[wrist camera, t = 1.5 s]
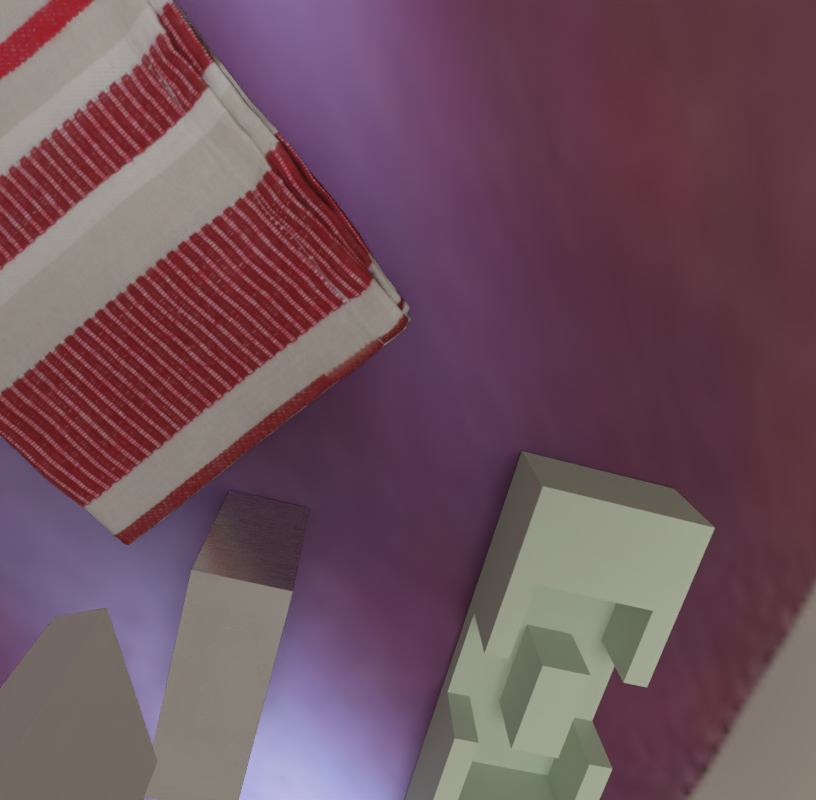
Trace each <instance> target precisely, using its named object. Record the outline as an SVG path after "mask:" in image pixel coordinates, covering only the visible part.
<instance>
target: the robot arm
mask: <svg viewBox="0 0 816 800" xmlns="http://www.w3.org/2000/svg"><path fill="white" fill-rule="evenodd" d="M157 762H158V761H157V758H156V755H155V752H154V749H153V746H152V743H151V740H150V737H149V734H148V731H147V728H146V725H145V722H144V719H143V716H142V713H141V710H140V707H139V704H138V701H137V698H136V695H135V692H134V689H133V686H132V683H131V680H130V677H129V674H128V671H127V667H126V664H125V661H124V658H123V655H122V652H121V649H120V646H119V643H118V640H117V637H116V634H115V631H114V628H113V625H112V622H111V619H110V616H109V613H108V610H107V608H103V609H97V610H92V611H86V612H81V613H75V614H69V615H64V616H58V617H54V618H53V620H52V621H51V622H50V624H49V625H48V626H47V628H46V629H45V630H44V632H43V633H42V634H41V636H40V637H39V638H38V639H37V641H36V642H35V643H34V645H33V646H32V647H31V649H30V650H29V651H28V653H27V654H26V655H25V656H24V658H23V659H22V660H21V662H20V663H19V664H18V666H17V667H16V668H15V670H14V671H13V672H12V674H11V675H10V676H9V677H8V679H7V680H6V681H5V683H4V684H3V685H2V687H1V688H0V800H143V798H144V796H145V793H146V790H147V788H148V785H149V783H150V780H151V777H152V775H153V772H154V770H155V767H156V764H157Z"/></svg>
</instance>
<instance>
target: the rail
mask: <svg viewBox="0 0 816 800" xmlns="http://www.w3.org/2000/svg"><path fill="white" fill-rule="evenodd" d="M714 529H715V528H714V527H713V526H712V525H711V524H710V523H709V522H708V521H707V520H706V519H705V518H704V517H703V516H702V515H701V514H700V513H699V512H698V511H697V510H696V509H695V508H694V507H692V506H691V505H690V504H689V503H688V502H687V501H686V500H685V499H684V498H683V497H682V496H681V495H680V494H679V493H678V492H677V491H676V490H675V489H673V488H669V487H665V486H661V485H657V484H653V483H649V482H645V481H641V480H637V479H633V478H629V477H625V476H621V475H617V474H613V473H609V472H605V471H601V470H596V469H592V468H588V467H584V466H580V465H576V464H572V463H568V462H564V461H560V460H556V459H552V458H548V457H544V456H540V455H536V454H532V453H528V452H524V451H522V452H521V455H520V458H519V461H518V464H517V467H516V470H515V473H514V476H513V478H512V481H511V484H510V487H509V490H508V493H507V496H506V499H505V502H504V505H503V508H502V511H501V514H500V517H499V520H498V523H497V526H496V529H495V532H494V535H493V538H492V541H491V544H490V547H489V550H488V553H487V556H486V559H485V562H484V565H483V568H482V571H481V574H480V577H479V580H478V583H477V586H476V588H475V591H474V594H473V597H472V600H471V603H470V606H469V609H468V612H467V615H466V618H465V621H464V624H463V627H462V630H461V633H460V636H459V639H458V642H457V645H456V648H455V651H454V654H453V657H452V660H451V663H450V666H449V669H448V672H447V675H446V678H445V681H444V684H443V687H442V690H441V693H440V695H439V698H438V701H437V704H436V707H435V710H434V713H433V716H432V719H431V722H430V725H429V728H428V731H427V734H426V737H425V740H424V743H423V746H422V749H421V752H420V755H419V758H418V761H417V764H416V767H415V770H414V773H413V776H412V779H411V782H410V785H409V788H408V791H407V794H406V797H405V800H599V799H600V797H601V794H602V792H603V790H604V787H605V785H606V783H607V780H608V778H609V776H610V773H611V771H612V767H611V764H610V762H609V760H608V757H607V755H606V752H605V750H604V748H603V745H602V743H601V741H600V738H599V736H598V734H597V731H596V729H595V727H594V724H593V722H592V720H593V718H594V715H595V713H596V710H597V708H598V705H599V703H600V701H601V698H602V696H603V693H604V691H605V688H606V686H607V683H608V681H609V678H610V676H611V673H612V671H613V669H614V666H615V667H616V669H617V671H618V673H619V675H620V677H621V679H622V681H623V683H628V684H633V685H638V686H642V687H647V686H648V684H649V682H650V679H651V677H652V674H653V672H654V670H655V667H656V665H657V663H658V660H659V658H660V656H661V653H662V651H663V649H664V646H665V644H666V642H667V639H668V637H669V634H670V632H671V630H672V627H673V625H674V623H675V620H676V618H677V616H678V613H679V611H680V609H681V606H682V604H683V602H684V599H685V597H686V594H687V592H688V590H689V587H690V585H691V583H692V580H693V578H694V576H695V573H696V571H697V569H698V566H699V564H700V561H701V559H702V557H703V554H704V552H705V550H706V547H707V545H708V543H709V540H710V538H711V536H712V533H713V531H714Z"/></svg>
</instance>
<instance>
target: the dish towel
mask: <svg viewBox="0 0 816 800" xmlns="http://www.w3.org/2000/svg"><path fill="white" fill-rule="evenodd" d="M409 310H410V308H409V306H408V304H407V303H406V301H405V300H404V299H403V298H402V297H401V295H400V294H399V292H398V291H397V290H396V288H395V287H394V286H393V285H392V283H391V282H390V281H389V280H388V278H387V277H386V276H385V275H384V273H383V272H382V270H381V269H380V267H379V266H378V264H377V263H376V261H375V260H374V257H373V256H372V254H371V252H370V250H369V249H368V247H367V246H366V244H365V242H364V240H363V239H362V237H361V235H360V234H359V232H358V231H357V230H356V228H355V227H354V226H353V224H352V223H351V222H350V220H349V219H348V217H347V216H346V215H345V213H344V212H343V210H342V209H341V208H340V207H339V206H338V204H337V203H336V202H335V201H334V199H333V198H332V197H331V196H330V195H329V193H328V192H327V191H326V190H325V188H324V187H323V186H322V184H321V183H320V182H319V181H318V180H317V179H316V178H315V176H314V175H313V174H312V173H311V172H310V170H309V169H308V168H307V167H306V166H305V164H304V163H303V162H302V160H301V159H300V157H299V156H298V155H297V154H296V152H295V151H294V149H293V148H292V146H291V145H289V144H288V143H287V142H286V141H285V140H284V138H283V137H282V136H281V135H280V134H279V132H278V131H277V129H276V128H275V127H274V126H273V125H272V124H271V123H270V122H269V121H268V120H267V119H266V118H265V117H264V116H263V114H262V113H261V112H260V111H259V110H258V109H257V108H256V107H255V105H254V104H253V103H252V102H251V101H250V100H249V98H248V97H247V96H246V95H245V94H244V92H243V91H242V89H241V88H240V87H239V85H238V84H237V83H236V81H235V80H234V79H233V78H232V76H231V75H230V74H229V72H228V71H227V70H226V68H225V67H224V66H223V64H222V63H221V62H220V61H219V59H218V58H217V57H216V56H215V55H214V54H213V53H212V51H211V50H210V49H209V47H208V46H207V45H206V44H205V42H204V41H203V39H202V38H201V36H200V35H199V33H198V32H197V30H196V29H195V28H194V26H193V25H192V23H191V22H190V21H189V19H188V18H187V17H186V16H185V15H184V13H183V12H182V11H181V10H180V8H179V7H178V6H177V4H176V3H175V2H174V0H0V435H1V436H2V437H3V438H5V440H6V441H7V442H8V443H9V444H10V445H11V446H12V447H13V448H14V449H16V450H17V451H18V452H19V453H20V454H21V455H22V456H23V457H24V458H25V459H26V460H27V461H28V462H29V463H30V464H31V465H32V466H33V467H34V468H35V469H36V470H37V471H38V472H39V473H40V474H41V475H42V476H43V477H45V478H46V479H47V480H48V481H49V482H50V483H51V484H53V485H54V486H55V487H57V488H58V489H59V490H61V491H62V492H63V493H64V494H65V495H67V496H68V497H70V498H71V499H72V500H74V501H75V502H77V503H78V504H79V505H81V506H82V507H83V508H85V509H86V510H87V511H88V512H89V513H91V514H92V515H93V516H94V517H95V518H96V519H97V520H98V521H99V522H100V523H101V524H103V525H104V526H105V527H106V528H107V529H108V530H109V531H110V532H111V533H112V534H113V535H114V536H116V537H117V538H118V539H119V540H121V541H122V542H123V543H124V544H127V545H132V544H133V543H134V542H135V541H136V540H138V539H139V538H140V537H141V536H142V535H143V534H144V533H146V532H147V531H148V530H150V529H151V528H152V527H154V526H155V525H157V524H158V523H160V522H161V521H163V520H164V519H165V518H166V517H167V516H168V515H170V514H171V513H172V512H173V511H175V510H176V509H177V508H178V507H179V506H180V505H182V504H183V503H185V502H186V501H187V500H188V499H189V498H191V497H192V496H193V495H195V494H196V493H197V492H198V491H200V490H201V489H202V488H203V487H204V486H206V485H207V484H208V483H209V482H211V481H212V480H213V479H215V478H216V477H217V476H218V475H220V474H221V473H222V472H223V471H224V470H226V469H227V468H228V467H229V466H231V465H232V464H233V463H234V462H236V461H237V460H238V459H239V458H240V457H242V456H243V455H244V454H245V453H247V452H248V451H249V450H250V449H252V448H253V447H254V446H256V445H257V444H258V443H259V442H260V441H262V440H263V439H264V438H266V437H267V436H269V435H270V434H272V433H273V432H274V431H275V430H276V429H278V428H279V427H280V426H281V425H282V424H283V423H285V422H286V421H287V420H289V419H290V418H291V417H293V416H294V415H295V414H297V413H298V412H300V411H301V410H302V409H303V408H305V407H306V406H307V405H308V404H310V403H311V402H312V401H313V400H315V399H316V398H317V397H319V396H320V395H321V394H323V393H324V392H325V391H326V390H327V389H329V388H330V387H331V386H333V385H334V384H335V383H337V382H338V381H339V380H341V379H343V378H344V377H345V376H347V375H348V374H349V373H351V372H352V371H353V370H355V369H356V368H357V367H359V366H360V365H361V364H362V363H364V362H365V361H366V360H368V359H369V358H370V357H372V356H373V355H374V354H375V353H376V352H377V351H379V350H380V349H381V348H382V347H383V346H385V345H386V344H387V343H389V342H390V341H391V340H393V339H394V338H395V337H397V336H398V335H399V334H400V333H401V332H402V331H404V330H405V329H406V328H407V326H406V325H407V324H408V323H409V321H410V320H411V318H410V317H409V316H408V314H407V312H408V311H409Z"/></svg>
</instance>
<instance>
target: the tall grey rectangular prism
mask: <svg viewBox="0 0 816 800" xmlns="http://www.w3.org/2000/svg"><path fill="white" fill-rule="evenodd" d="M308 512H309V508H307V507H302V506H298V505H294V504H289V503H285V502H281V501H276V500H272V499H267V498H263V497H259V496H254V495H250V494H246V493H241V492H237V491H232V490H229V493H228V495H227V497H226V499H225V501H224V503H223V505H222V507H221V509H220V511H219V513H218V515H217V517H216V520H215V522H214V524H213V526H212V528H211V530H210V532H209V534H208V536H207V538H206V540H205V542H204V544H203V547H202V549H201V551H200V553H199V555H198V557H197V559H196V561H195V563H194V565H193V567H192V569H191V573H190V578H189V583H188V587H187V592H186V597H185V601H184V606H183V610H182V615H181V620H180V624H179V629H178V633H177V638H176V643H175V647H174V652H173V656H172V661H171V666H170V670H169V675H168V680H167V684H166V689H165V693H164V698H163V703H162V707H161V712H160V716H159V721H158V726H157V730H156V735H155V739H154V744H153V749H154V752H155V755H156V758H157V761H158V762H157V764H156V767H155V770H154V772H153V775H152V777H151V780H150V783H149V785H148V788H147V790H146V793H145V796H144V797H148V798H154V799H160V800H239V796H240V792H241V789H242V785H243V781H244V777H245V773H246V769H247V766H248V762H249V758H250V754H251V750H252V746H253V743H254V739H255V735H256V731H257V727H258V723H259V720H260V716H261V712H262V708H263V704H264V700H265V697H266V693H267V689H268V685H269V681H270V677H271V674H272V670H273V666H274V662H275V658H276V654H277V651H278V647H279V643H280V639H281V635H282V631H283V628H284V624H285V620H286V616H287V612H288V609H289V605H290V601H291V597H292V593H293V589H294V584H295V578H296V573H297V568H298V563H299V558H300V553H301V548H302V543H303V538H304V533H305V527H306V522H307V517H308Z"/></svg>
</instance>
